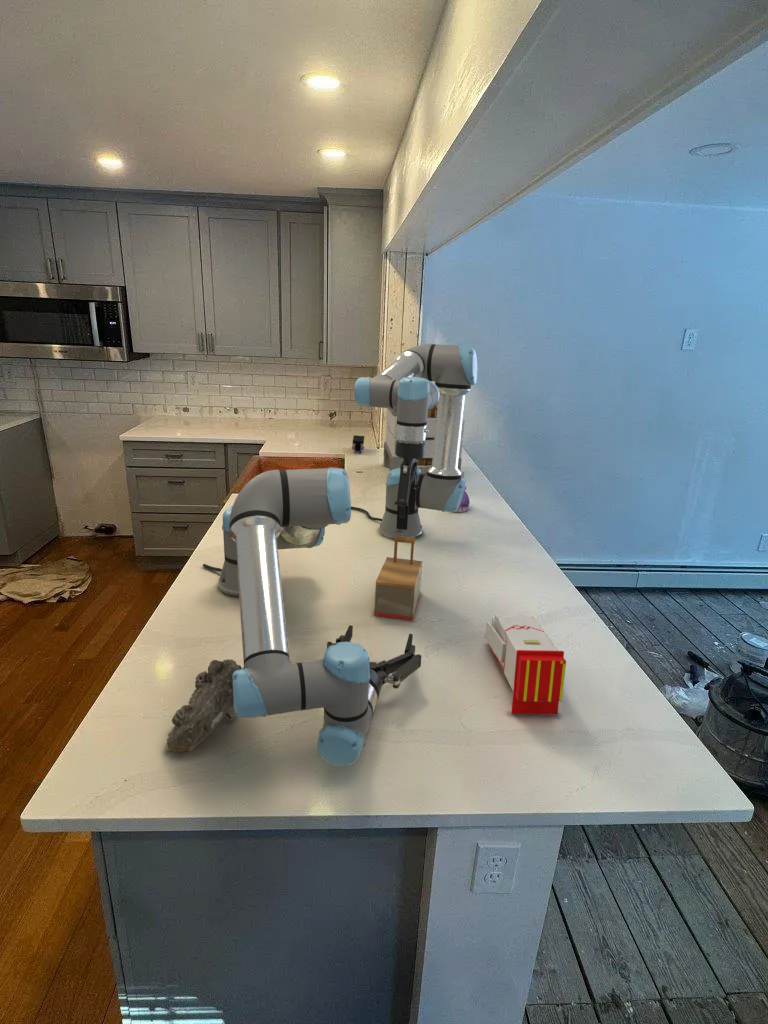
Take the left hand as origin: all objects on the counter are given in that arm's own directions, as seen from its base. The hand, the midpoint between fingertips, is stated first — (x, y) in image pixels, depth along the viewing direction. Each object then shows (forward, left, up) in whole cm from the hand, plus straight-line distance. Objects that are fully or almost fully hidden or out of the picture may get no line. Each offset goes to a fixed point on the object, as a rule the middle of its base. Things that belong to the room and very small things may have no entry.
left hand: (380, 634), depth 126 cm
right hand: (0, +31, +16) cm, 35 cm away
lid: (0, +26, +3) cm, 26 cm away
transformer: (-11, +156, -6) cm, 157 cm away
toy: (+31, +2, -6) cm, 31 cm away
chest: (0, +26, -6) cm, 27 cm away
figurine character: (-50, +189, -6) cm, 195 cm away
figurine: (+11, +109, -6) cm, 109 cm away
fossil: (-27, -27, -6) cm, 39 cm away
